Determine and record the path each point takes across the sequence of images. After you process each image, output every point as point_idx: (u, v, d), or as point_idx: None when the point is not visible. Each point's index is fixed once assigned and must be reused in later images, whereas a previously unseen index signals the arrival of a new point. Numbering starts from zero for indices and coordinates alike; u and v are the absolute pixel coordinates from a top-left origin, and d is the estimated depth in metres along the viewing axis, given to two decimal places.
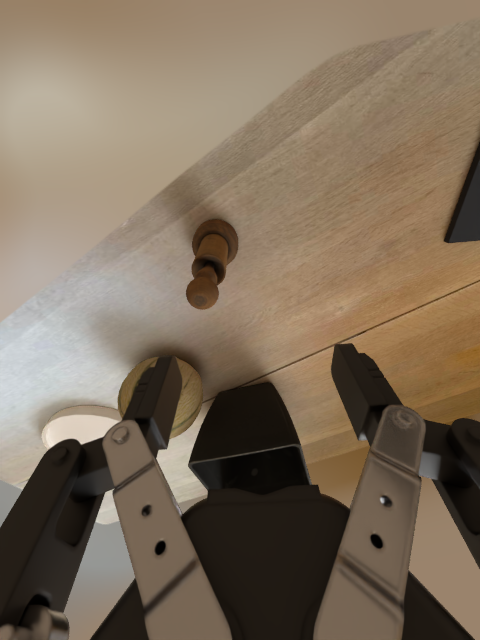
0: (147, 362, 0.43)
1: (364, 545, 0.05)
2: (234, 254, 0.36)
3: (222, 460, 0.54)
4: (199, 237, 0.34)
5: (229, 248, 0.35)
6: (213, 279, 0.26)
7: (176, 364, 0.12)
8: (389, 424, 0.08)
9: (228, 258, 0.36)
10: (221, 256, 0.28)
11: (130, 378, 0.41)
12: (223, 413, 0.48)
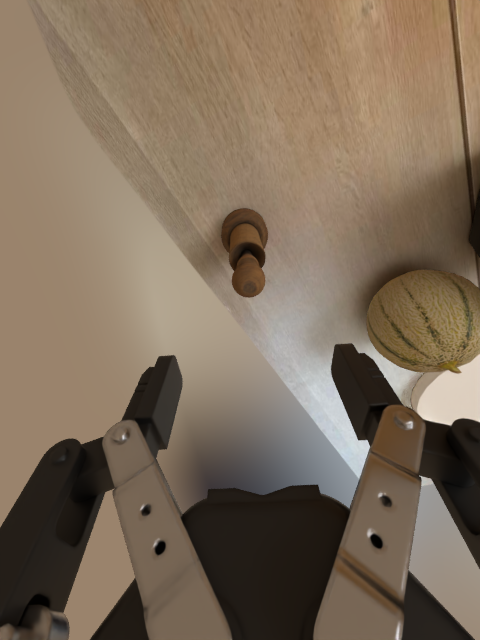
0: (367, 325, 0.39)
1: (364, 545, 0.05)
2: (253, 215, 0.33)
3: None
4: None
5: (245, 222, 0.33)
6: (246, 260, 0.24)
7: (176, 364, 0.12)
8: (389, 424, 0.08)
9: (256, 223, 0.33)
10: (235, 242, 0.27)
11: (376, 347, 0.37)
12: None
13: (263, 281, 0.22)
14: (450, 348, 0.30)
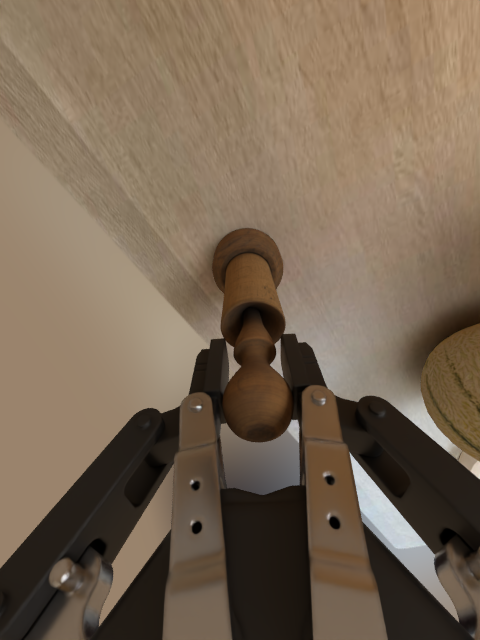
0: (425, 392, 0.27)
1: (327, 533, 0.06)
2: (261, 241, 0.21)
3: None
4: None
5: (249, 251, 0.21)
6: (252, 345, 0.12)
7: (226, 347, 0.13)
8: (310, 406, 0.09)
9: (266, 253, 0.21)
10: (232, 296, 0.15)
11: (443, 430, 0.25)
12: None
13: (291, 415, 0.10)
14: None
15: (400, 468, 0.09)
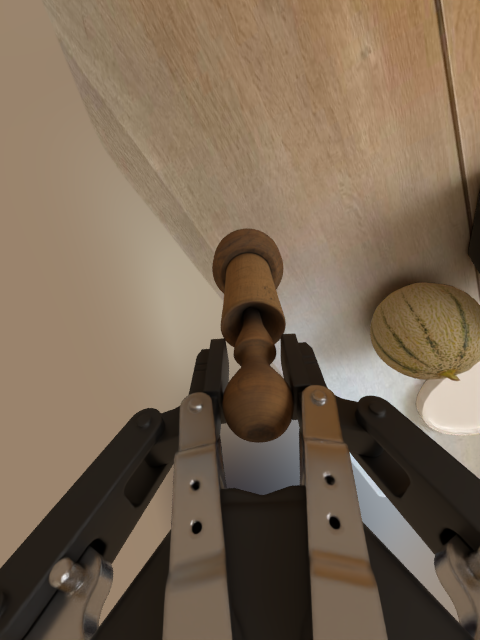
0: (371, 334, 0.41)
1: (327, 533, 0.06)
2: (261, 241, 0.21)
3: None
4: None
5: (249, 251, 0.21)
6: (252, 345, 0.12)
7: (225, 347, 0.13)
8: (310, 406, 0.09)
9: (266, 253, 0.21)
10: (232, 296, 0.15)
11: (380, 356, 0.39)
12: None
13: (291, 415, 0.10)
14: (448, 358, 0.32)
15: (400, 468, 0.09)
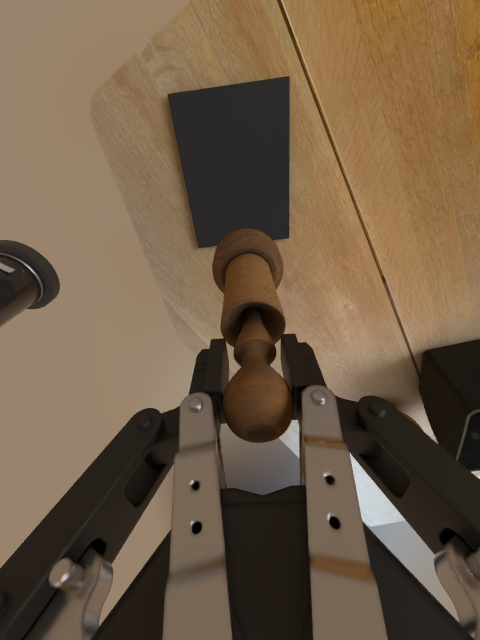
0: None
1: (327, 533, 0.06)
2: (261, 241, 0.21)
3: None
4: None
5: (249, 251, 0.21)
6: (252, 345, 0.12)
7: (225, 347, 0.13)
8: (310, 406, 0.09)
9: (266, 253, 0.21)
10: (232, 296, 0.15)
11: None
12: (430, 411, 0.51)
13: (291, 415, 0.10)
14: None
15: (400, 468, 0.09)
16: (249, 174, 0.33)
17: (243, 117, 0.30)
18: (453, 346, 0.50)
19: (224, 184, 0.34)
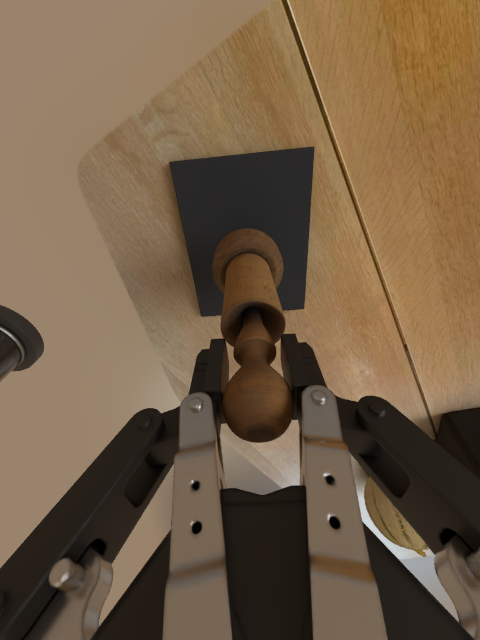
0: (364, 498, 0.55)
1: (327, 533, 0.06)
2: (261, 240, 0.21)
3: None
4: None
5: (249, 251, 0.21)
6: (252, 345, 0.12)
7: (226, 347, 0.13)
8: (310, 406, 0.09)
9: (266, 252, 0.21)
10: (232, 296, 0.15)
11: (371, 519, 0.54)
12: None
13: (291, 415, 0.10)
14: (417, 547, 0.46)
15: (400, 468, 0.09)
16: None
17: (258, 188, 0.25)
18: (476, 411, 0.46)
19: None
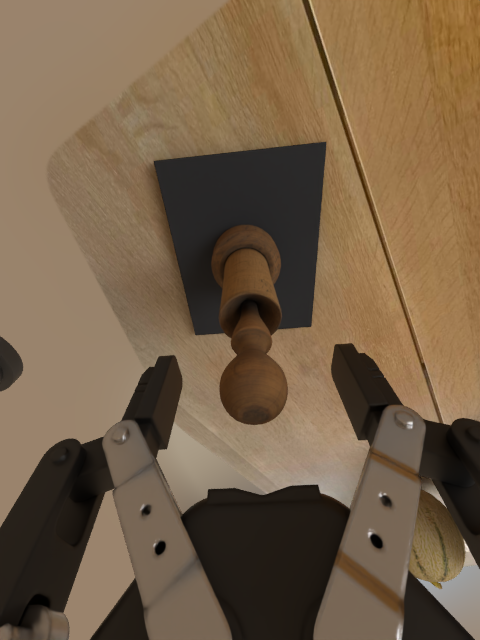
0: None
1: (364, 545, 0.05)
2: (259, 236, 0.21)
3: None
4: None
5: (247, 246, 0.21)
6: (248, 334, 0.13)
7: (176, 364, 0.12)
8: (389, 424, 0.08)
9: (264, 248, 0.21)
10: (230, 289, 0.16)
11: None
12: None
13: (284, 398, 0.10)
14: (433, 579, 0.43)
15: None
16: None
17: (259, 191, 0.22)
18: None
19: None
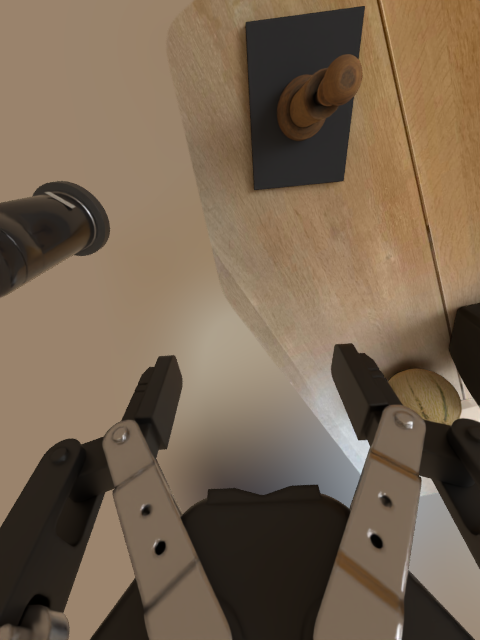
0: None
1: (364, 545, 0.05)
2: None
3: None
4: (291, 127, 0.33)
5: None
6: None
7: (176, 364, 0.12)
8: (389, 424, 0.08)
9: None
10: None
11: None
12: (464, 366, 0.52)
13: None
14: None
15: None
16: None
17: (315, 49, 0.31)
18: None
19: None
